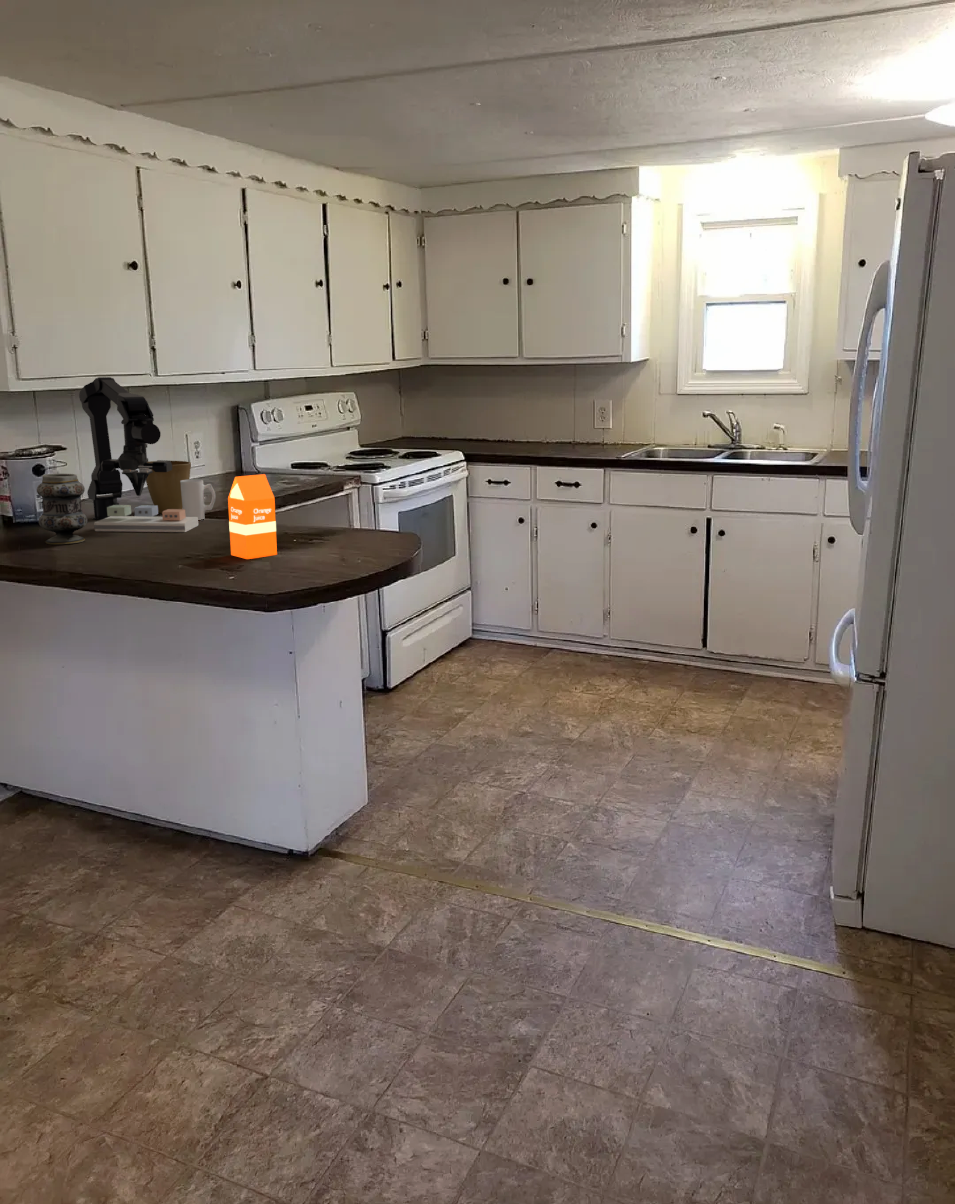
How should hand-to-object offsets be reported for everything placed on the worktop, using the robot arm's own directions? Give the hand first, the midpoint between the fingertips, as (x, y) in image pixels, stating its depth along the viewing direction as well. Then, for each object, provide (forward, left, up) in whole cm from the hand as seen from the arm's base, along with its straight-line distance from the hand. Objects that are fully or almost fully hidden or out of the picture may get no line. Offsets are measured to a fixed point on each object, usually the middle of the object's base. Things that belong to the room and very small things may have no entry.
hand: (138, 495), depth 283 cm
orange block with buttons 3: (+10, 0, -7) cm, 12 cm away
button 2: (+2, 0, -6) cm, 6 cm away
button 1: (-6, 0, -6) cm, 8 cm away
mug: (+12, +17, -10) cm, 23 cm away
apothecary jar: (-12, -23, -10) cm, 28 cm away
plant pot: (-2, +31, -10) cm, 32 cm away
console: (+2, 0, -9) cm, 10 cm away
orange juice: (+43, -38, -10) cm, 58 cm away
